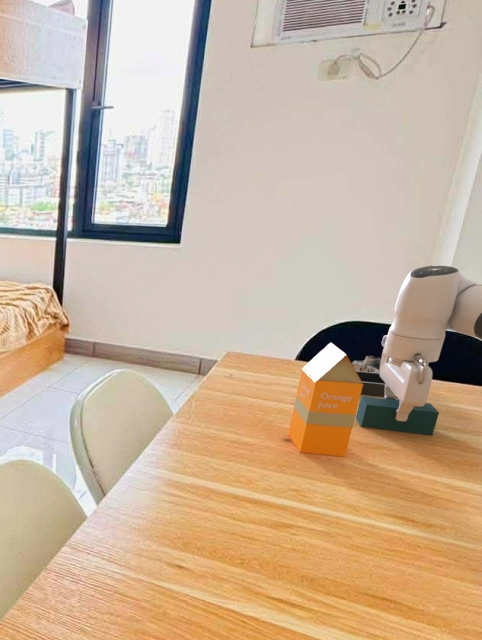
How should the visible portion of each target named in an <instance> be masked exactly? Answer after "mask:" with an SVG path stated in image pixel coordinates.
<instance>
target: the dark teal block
mask: <svg viewBox="0 0 482 640" xmlns="http://www.w3.org/2000/svg"><path fill="white" fill-rule="evenodd" d="M399 402H400V400H399V399H396V400H392V399H384V397H374V396H365V395H360V399H359V403H358V407H357V411H356V416H355V419H356V420H357V422H358V424H359V426H360V427H361V428H367V429H369V428H370V429H377V430H385V431H393V432H401V433H409V434H416V435H426V436H433V435H434V432H435V428H436V425H437V422H438V417H439V416H440V415H439V414H440V412H439V411H438V410H437V408H435V407H434V405H433V404H432V403H429V402H426V403H425V405H424V406H422V407H418V406H414V408H413V409H412V410H411V412H410V413H409V415H408V418H407V420H406V421H397V420H396V418H395V417H394V416H395V412H396V410H398V408H399V405H400V404H399Z"/></svg>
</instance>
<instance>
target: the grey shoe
mask: <svg viewBox="0 0 482 640" xmlns="http://www.w3.org/2000/svg"><path fill="white" fill-rule="evenodd" d="M380 363H381V358H380V357H378V356H373V355H366V356H365V359H364V360H353V361H352V362H351V364H352V366H353V367H354V369H355V371H363V372H374V373H380V372H379V371H380Z"/></svg>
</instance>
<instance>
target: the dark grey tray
mask: <svg viewBox="0 0 482 640" xmlns="http://www.w3.org/2000/svg"><path fill="white" fill-rule="evenodd" d="M356 372H357V374H358V376H359V378H360V379H361V381H362V383H363V387H362V391H361V395H360V396H369V397H379V398H384V396H385V382H384V381H383V380H382V378H381V377H380V373H374V372H363V371H356ZM396 399H398V398H397V397H396Z"/></svg>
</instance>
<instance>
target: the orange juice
mask: <svg viewBox="0 0 482 640" xmlns="http://www.w3.org/2000/svg"><path fill="white" fill-rule="evenodd" d="M351 363H352V362H351V360H350V359H349V357H348V355H347V354H346V352H344V351H343V350H341V349H340V348H339V347H338V346H337V345H335V344H334V343H332V342H329V343H328V344H327V345H326V346H325V347H324V348H323V349H321V350H320V351H319V352H318V353H317V354H316V355H315V356H314V357H313V358H312V359H310V360H309V361H308V363H307V364H305V365H304V366H303V367H302V368H301V371H300V378H299V381H298V386H297V391H296V396H295V400H294V404H293V410H292V414H291V415H292V416H291V419H290V424H289V429H288V433H287V435H288V437H289V438H290V440H291V441H292V443H293V444H294V446H295V447H296V449H297V450H298V452H299V453H303V454H314V455H323V456H332V457H333V456H334V457H342V458H343V457H346V455H347V452H348V451H347V450H348V447H349V443H350V437H351V435H352V430H353V428H354V424H355V421H356V420H355V419H356V415H357V411H358V407H359V403H360V399H361V396H362V395H361V391H362V387H363V383H362V381H361V379H360V378H359V376H358V374H357V372H356V371H355V369H354V367H353V366H352V364H351Z"/></svg>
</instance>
